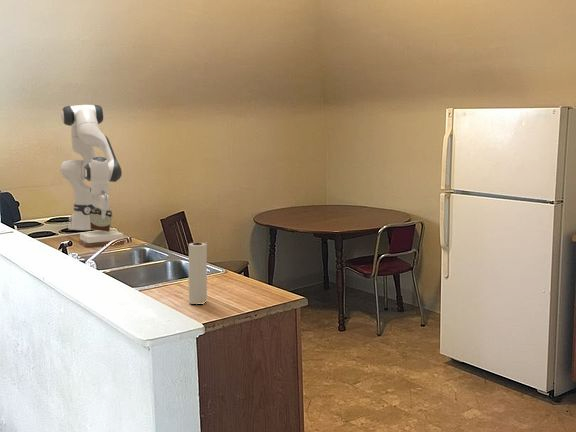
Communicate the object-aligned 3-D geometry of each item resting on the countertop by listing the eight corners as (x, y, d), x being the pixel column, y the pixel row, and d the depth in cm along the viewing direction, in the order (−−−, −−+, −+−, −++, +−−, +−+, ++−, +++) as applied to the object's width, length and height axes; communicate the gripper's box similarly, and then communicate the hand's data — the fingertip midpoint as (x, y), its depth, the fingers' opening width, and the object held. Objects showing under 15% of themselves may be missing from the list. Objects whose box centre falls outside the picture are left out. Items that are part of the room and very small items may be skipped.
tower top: (80, 239, 336) (79, 233, 336) (114, 235, 347) (114, 230, 346) (88, 243, 327) (88, 237, 326) (123, 239, 337) (123, 233, 337)
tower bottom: (79, 244, 338) (79, 238, 337) (116, 241, 347) (116, 235, 347) (86, 249, 327) (85, 243, 326) (124, 245, 336) (124, 240, 336)
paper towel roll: (191, 306, 231) (191, 245, 228) (186, 301, 236) (186, 242, 233) (211, 304, 234) (211, 244, 230) (206, 300, 239) (206, 241, 236)
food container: (115, 227, 341) (116, 209, 338) (112, 232, 336) (112, 213, 332) (91, 224, 341) (92, 206, 338) (87, 228, 336) (88, 210, 332)
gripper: (112, 191, 326) (113, 219, 328) (101, 187, 343) (101, 214, 345) (99, 192, 323) (100, 220, 325) (88, 188, 340) (89, 214, 342)
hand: (101, 217), depth 335 cm, fingers closed on food container, 6 cm apart
